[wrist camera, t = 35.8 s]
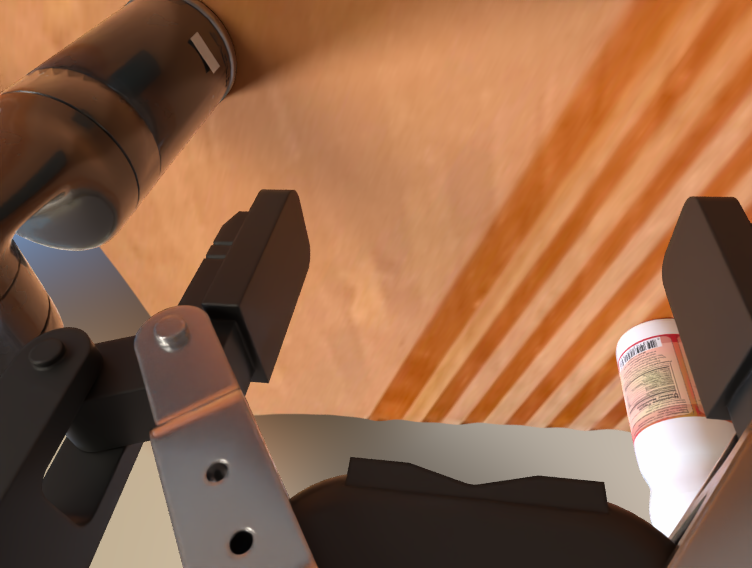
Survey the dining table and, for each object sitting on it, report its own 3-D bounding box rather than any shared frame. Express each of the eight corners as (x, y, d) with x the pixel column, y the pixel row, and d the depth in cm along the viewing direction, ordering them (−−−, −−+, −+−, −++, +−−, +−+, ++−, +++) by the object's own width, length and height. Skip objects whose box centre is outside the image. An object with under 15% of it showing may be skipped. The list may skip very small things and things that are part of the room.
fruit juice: (721, 317, 55) (848, 633, 35) (694, 372, 61) (788, 665, 42) (623, 313, 57) (692, 612, 37) (607, 367, 63) (658, 646, 44)
